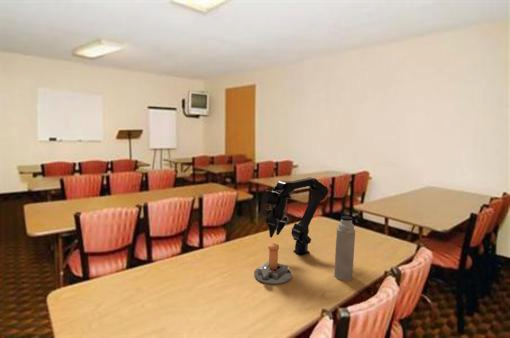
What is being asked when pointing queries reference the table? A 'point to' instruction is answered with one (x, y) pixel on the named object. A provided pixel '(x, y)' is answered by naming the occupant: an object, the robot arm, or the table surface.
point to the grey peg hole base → (273, 274)
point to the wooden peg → (273, 256)
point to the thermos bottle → (344, 249)
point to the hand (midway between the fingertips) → (274, 236)
